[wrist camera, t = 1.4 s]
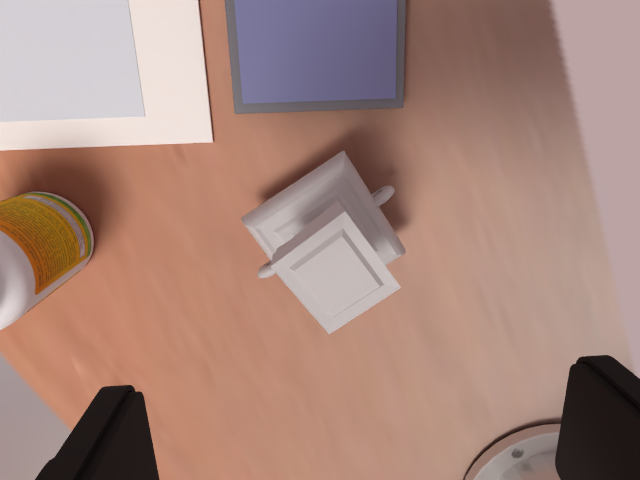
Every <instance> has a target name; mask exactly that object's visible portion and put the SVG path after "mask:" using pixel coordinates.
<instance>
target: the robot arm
mask: <svg viewBox="0 0 640 480" xmlns="http://www.w3.org/2000/svg"><path fill="white" fill-rule="evenodd" d="M35 480H159V475H158V470H157V465H156V459H155V454H154V449H153V443H152V438H151V433H150V428H149V422H148V417H147V412H146V406H145V401H144V396H143V394H142V392H135V389H134V387H133V386H131V385H123V386H107V387H103V388H101V389H100V390H99V392H98V393H97V395H96V396H95V398H94V399H93V401H92V402H91V404H90V405H89V407H88V408H87V410H86V411H85V413H84V414H83V416H82V417H81V419H80V420H79V422H78V423H77V425H76V426H75V428H74V429H73V431H72V432H71V434H70V435H69V437H68V438H67V440H66V441H65V443H64V444H63V446H62V447H61V449H60V450H59V452H58V453H57V455H56V456H55V458H53V459H52V460H49V462H48V463H47V464H46V465H45V466H44V468H43V469H42V470H41V472H40V473H39V475H38V476H37V478H36V479H35ZM465 480H640V379H639V378H638V377H637V376H635V375H634V374H633V373H632V372H630V371H629V370H628V369H627V368H625V367H624V366H623V365H622V364H620V363H619V362H618V361H617V360H616V359H614V358H613V357H611V356H608V355H601V356H585V357H580V358H579V359H578V360H577V362H576V364H573V365H572V366H571V368H570V371H569V377H568V383H567V390H566V396H565V402H564V408H563V414H562V420H561V424H549V425H540V426H536V427H531V428H527V429H524V430H521V431H519V432H516V433H514V434H511V435H509V436H508V437H506V438H504V439H502V440H500V441H499V442H497V443H496V444H494V445H493V446H492V447H491V448H489V449H488V450H487V451H485V452H484V453H483V454H482V455H481V457H480V458H479V459H478V460H477V461H476V462H475V463H474V464H473V466H472V467H471V469H470V471H469V472H468V474H467V475H466V478H465Z"/></svg>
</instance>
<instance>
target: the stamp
mask: <svg viewBox="0 0 640 480" xmlns="http://www.w3.org/2000/svg"><path fill="white" fill-rule="evenodd" d="M394 192H395V189H394V188H393V187H391V186H389V185H386V186H384V187H382V188H380V189H379V190H377V191H376V192H374V193H372V194H371V193H370V192H369V190H368V188H367V187H366V185H365V184H364V182H363V180H362V179H361V177H360V176H359V174H358V172H357V171H356V169H355V167H354V166H353V164H352V163H351V161H350V159H349V158H348V156H347V155H346V153H345V151H344V150H343V151H342V152H340V153H338V154H337V155H335V156H334V157H332V158H331V159H329V160H328V161H326V162H325V163H323V164H322V165H320V166H319V167H317V168H316V169H314V170H313V171H311V172H310V173H308V174H307V175H305V176H304V177H302V178H301V179H299V180H298V181H296V182H295V183H293V184H292V185H290V186H288V187H287V188H285V189H284V190H282V191H281V192H279V193H278V194H276V195H275V196H273V197H272V198H270V199H269V200H267V201H266V202H264V203H263V204H261V205H260V206H258V207H257V208H255V209H254V210H252V211H251V212H249V213H248V214H246V215H245V216H243V217H241V219H242V222H243V224H244V225H245V226H246V228H247V229H248V230H249V232H250V233H251V234H252V236H253V237H254V238H255V240H256V241H257V242H258V244H259V245H260V247H261V248H262V249H263V251H264V252H265V253H266V255H267V256H268V257H269V259H270V261H269V262H267V263H266V264H264V265H263V266H261V267H260V269H259V271H258V277H259V278H267V277H270V276H272V275H274V274H275V273H277V275H278V276H279V277H280V278H281V279H282V280H283V282H284V283H285V284H286V285H287V286H288V287H289V288H290V290H291V291H292V292H293V293H294V294H295V295H296V297H297V298H298V299H299V300H300V301H301V302H302V304H303V305H304V306H305V308H306V309H307V310H308V312H310V313H311V314H312V315H313V316H314V317H315V319H316V320H317V321H318V322H319V323H320V324H321V326H322V327H323V328H324V329H325V330H326V331H327V333H328V334H331V333H332V332H334V331H335V330H337V329H338V328H340V327H341V326H343V325H345V324H346V323H348V322H349V321H351V320H352V319H354V318H355V317H357V316H358V315H360V314H361V313H363V312H364V311H366V310H368V309H369V308H371V307H372V306H374V305H375V304H377V303H378V302H380V301H381V300H383V299H384V298H386V297H388V296H389V295H391V294H392V293H394V292H395V291H397V290H398V289H400V288H401V287H400V285H399V284H398V283H397V281H396V280H395V279H394V277H393V276H392V274H391V273H390V272H389V270H388V269H387V268H386V266H385V265H387V264H389V263H390V262H392V261H394V260H395V259H397V258H398V257H400V256H402V255H403V254H404V253H406V251H405V248H404V246H403V245H402V243H401V241H400V240H399V238H398V237H397V235H396V233H395V232H394V230H393V229H392V227H391V225H390V224H389V222H388V221H387V219H386V217H385V216H384V214H383V212H382V211H381V209H380V208H379V206H380V205H382V204H383V203H385V202H386V201H387V200H388V199H389V198H390V197H391V196H392V195H393V194H394Z"/></svg>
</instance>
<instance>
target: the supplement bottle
mask: <svg viewBox="0 0 640 480" xmlns="http://www.w3.org/2000/svg"><path fill="white" fill-rule="evenodd" d="M93 246H94V238H93V232H92V229H91V226H90V223H89V221H88V220H87V218H86V216H85V215H84V214H83V212H82V211H81V210H80V209H79V208H78V207H77V206H75V205H74V204H73V203H71V202H70V201H68V200H67V199H65V198H63V197H61V196H58V195H56V194H52V193H47V192H29V193H24V194H21V195H17V196H14V197H11V198H9V199H6V200H3V201H0V330H1V329H3V328H5V327H7V326H9V325H10V324H12V323H13V322H15V321H16V320H18V319H19V318H21V317H22V316H23V315H24V314H26V313H27V312H28V311H30V310H31V309H32V308H33V307H35V306H36V305H37V304H38V303H40V302H41V301H42V300H44V299H45V298H46V297H48V296H49V295H50V294H51V293H53V292H54V291H55V290H57V289H58V288H59V287H61V286H62V285H63V284H64V283H66V282H67V281H68V280H70V279H71V278H72V277H73V276H75V275H76V274H77V273H78V272H79V271H81V270H82V269H83V268H84V267H85V265H86V264H87V263H88V261H89V259H90V258H91V255H92V252H93Z"/></svg>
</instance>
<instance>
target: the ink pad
mask: <svg viewBox="0 0 640 480" xmlns="http://www.w3.org/2000/svg"><path fill="white" fill-rule="evenodd" d="M225 9H226V20H227V31H228V42H229V54H230V65H231V76H232V88H233V99H234V110H235V114H243V113H271V112H299V111H327V110H354V109H382V108H403V102H404V58H405V14H406V0H225Z"/></svg>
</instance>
